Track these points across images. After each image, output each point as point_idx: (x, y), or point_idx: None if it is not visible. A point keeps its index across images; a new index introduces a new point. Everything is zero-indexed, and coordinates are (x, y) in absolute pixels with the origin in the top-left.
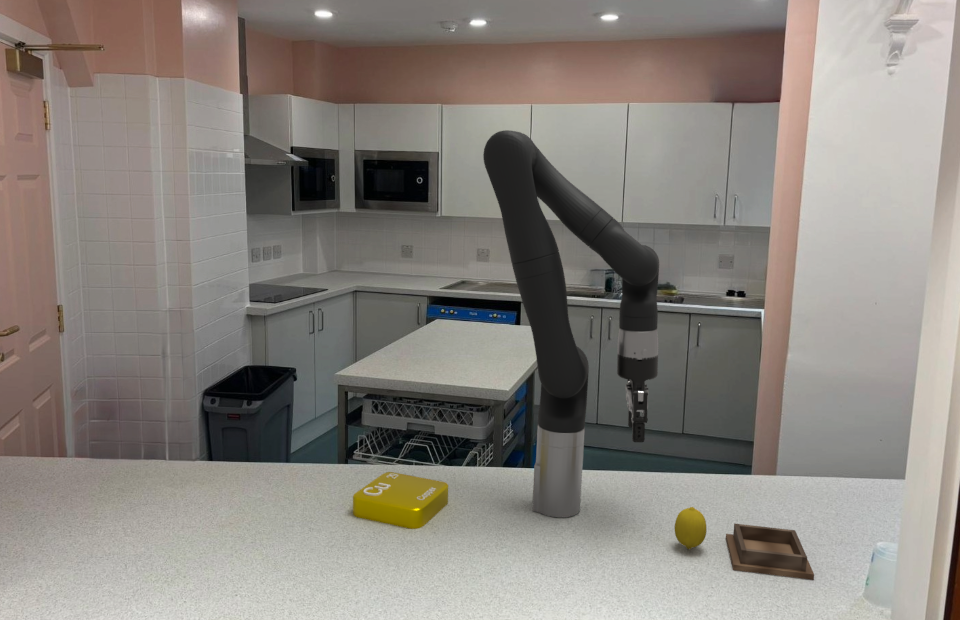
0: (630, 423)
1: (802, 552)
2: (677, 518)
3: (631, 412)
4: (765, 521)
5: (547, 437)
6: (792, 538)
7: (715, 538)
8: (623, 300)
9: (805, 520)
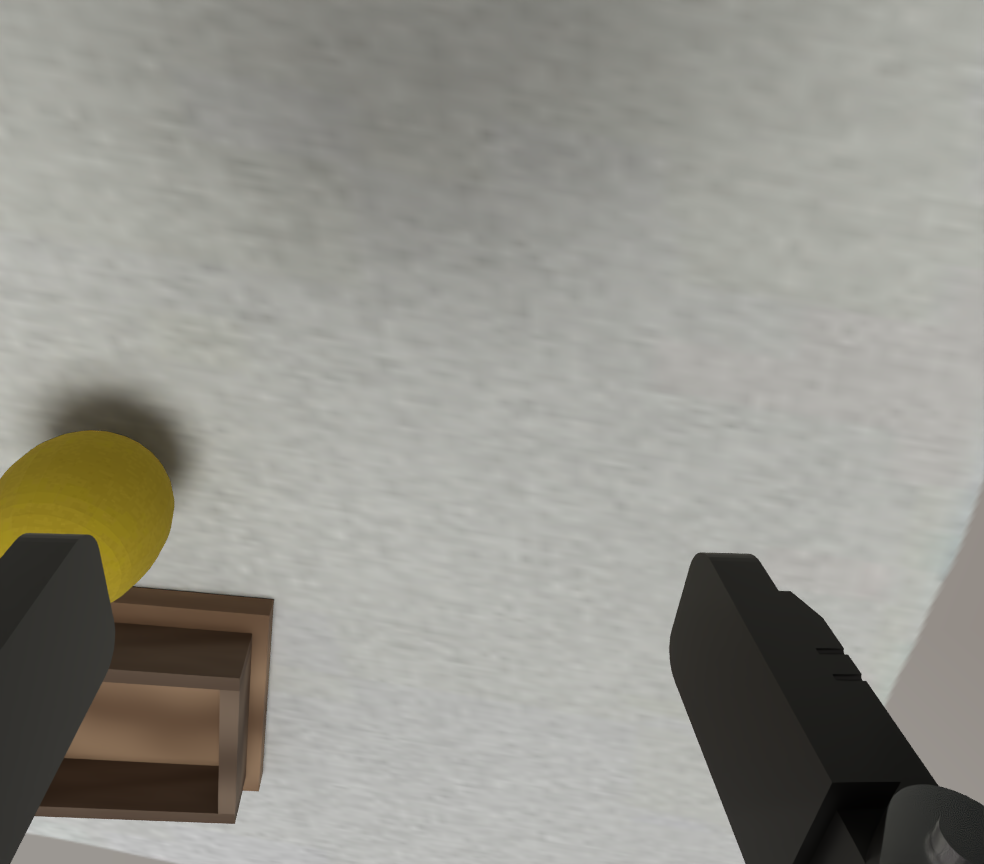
0: (711, 602)
1: (40, 811)
2: (38, 489)
3: (784, 764)
4: (456, 732)
5: None
6: (189, 800)
7: (268, 567)
8: None
9: (476, 819)
